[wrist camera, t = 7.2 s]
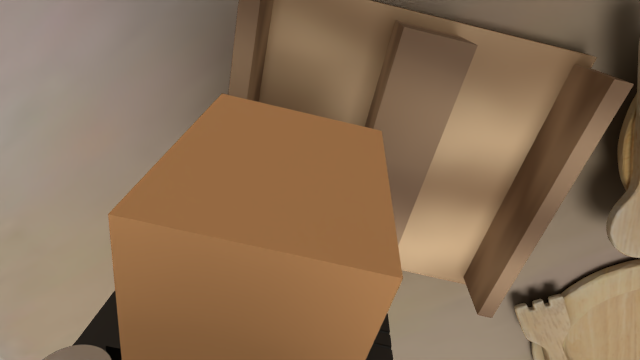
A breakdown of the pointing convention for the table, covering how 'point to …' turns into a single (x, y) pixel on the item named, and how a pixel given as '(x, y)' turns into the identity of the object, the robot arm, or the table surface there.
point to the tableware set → (599, 280)
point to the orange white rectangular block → (257, 241)
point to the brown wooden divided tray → (439, 122)
